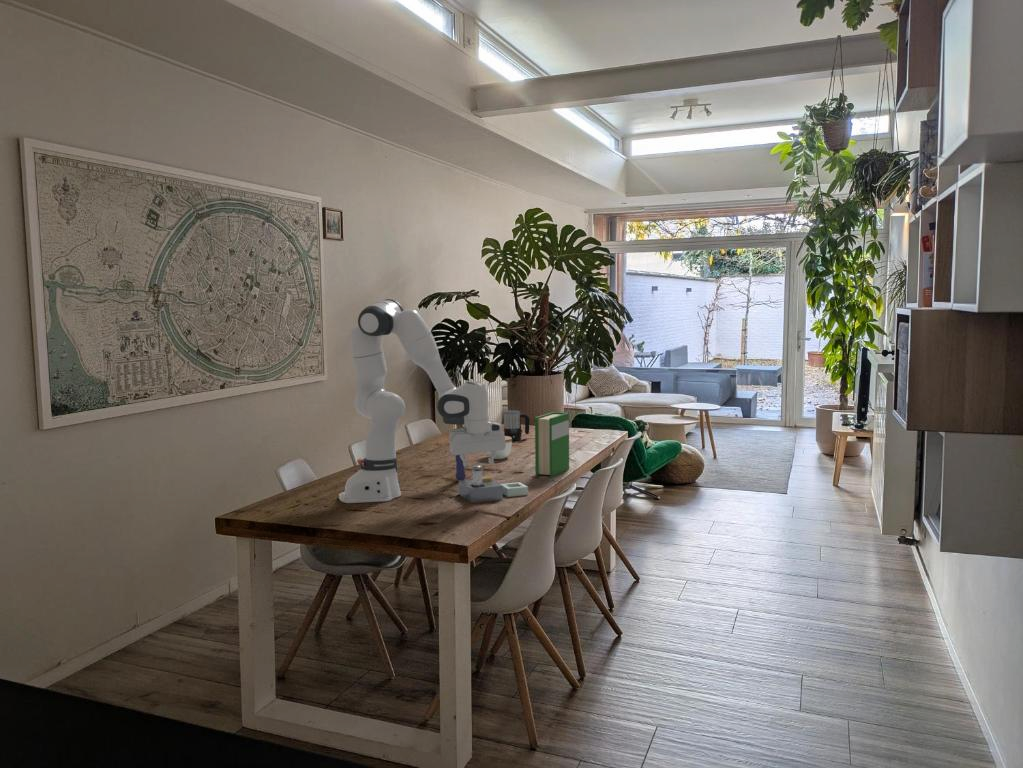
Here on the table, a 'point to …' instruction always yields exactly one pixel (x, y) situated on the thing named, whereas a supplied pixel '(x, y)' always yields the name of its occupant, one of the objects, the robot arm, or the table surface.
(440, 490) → the table surface
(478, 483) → the metal cylindrical peg
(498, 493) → the socket block
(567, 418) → the hardback book
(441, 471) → the table surface
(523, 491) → the pale green square frame
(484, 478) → the gold rectangular block
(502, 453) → the lidded bowl
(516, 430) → the milk frother
